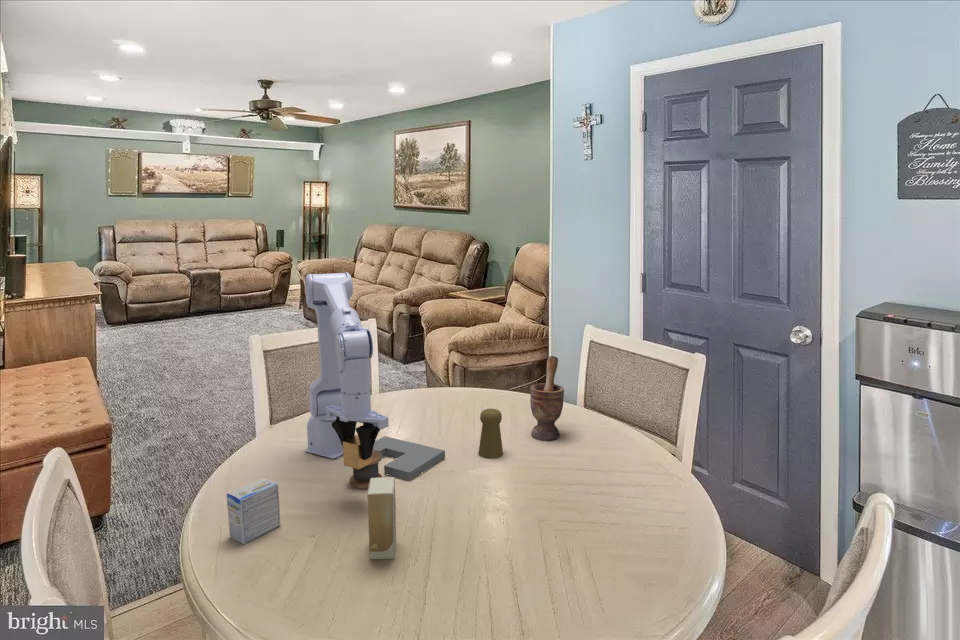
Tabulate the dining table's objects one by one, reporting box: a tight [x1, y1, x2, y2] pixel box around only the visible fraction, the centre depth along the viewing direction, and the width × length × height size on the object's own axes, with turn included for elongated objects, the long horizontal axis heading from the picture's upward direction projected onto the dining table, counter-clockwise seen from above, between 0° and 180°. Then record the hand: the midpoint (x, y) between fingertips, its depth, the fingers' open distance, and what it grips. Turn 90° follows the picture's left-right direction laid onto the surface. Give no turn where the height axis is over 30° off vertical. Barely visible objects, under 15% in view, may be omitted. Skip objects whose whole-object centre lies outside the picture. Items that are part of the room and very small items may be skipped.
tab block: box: [342, 434, 372, 469], centre depth 120 cm, size 4×4×5 cm
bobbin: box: [349, 450, 383, 490], centre depth 130 cm, size 7×7×6 cm
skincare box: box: [367, 476, 397, 560], centre depth 103 cm, size 6×4×12 cm
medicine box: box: [226, 477, 281, 545], centre depth 109 cm, size 8×4×9 cm, turn 145°
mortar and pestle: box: [529, 355, 565, 441], centre depth 157 cm, size 12×9×20 cm
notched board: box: [373, 436, 446, 482], centre depth 141 cm, size 18×14×2 cm
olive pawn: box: [477, 408, 504, 460], centre depth 144 cm, size 6×6×11 cm
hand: (358, 455), depth 121 cm, fingers closed on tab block, 4 cm apart
